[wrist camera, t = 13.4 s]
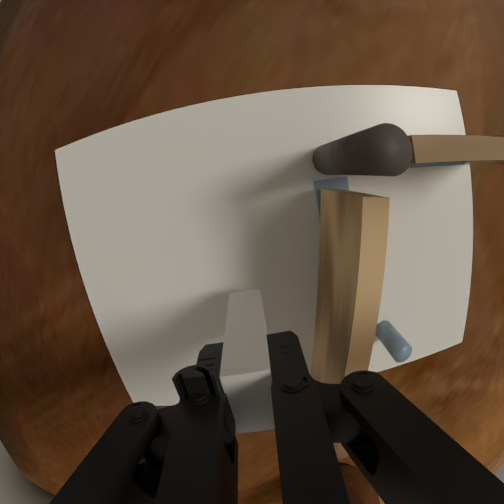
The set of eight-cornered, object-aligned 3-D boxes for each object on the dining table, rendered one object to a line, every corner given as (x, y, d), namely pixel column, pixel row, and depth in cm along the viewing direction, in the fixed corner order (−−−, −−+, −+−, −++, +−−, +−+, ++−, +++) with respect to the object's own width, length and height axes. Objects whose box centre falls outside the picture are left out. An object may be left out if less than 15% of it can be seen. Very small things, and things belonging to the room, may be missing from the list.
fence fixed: (308, 147, 15) (361, 124, 7) (466, 138, 14) (551, 134, 7) (313, 176, 15) (370, 179, 8) (469, 162, 15) (555, 167, 8)
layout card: (58, 150, 14) (24, 148, 11) (453, 92, 14) (485, 82, 10) (136, 402, 19) (123, 433, 15) (459, 339, 18) (483, 361, 15)
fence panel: (316, 188, 14) (361, 197, 9) (343, 189, 14) (400, 199, 9) (305, 391, 17) (323, 462, 12) (326, 389, 17) (350, 458, 12)
